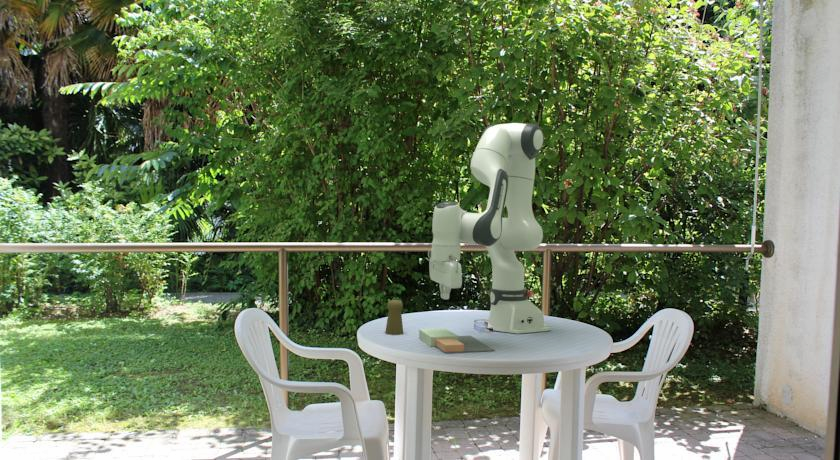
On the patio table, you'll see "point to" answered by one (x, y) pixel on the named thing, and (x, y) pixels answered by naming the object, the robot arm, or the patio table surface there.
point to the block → (449, 345)
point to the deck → (435, 335)
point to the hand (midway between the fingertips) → (444, 298)
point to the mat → (471, 345)
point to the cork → (394, 318)
